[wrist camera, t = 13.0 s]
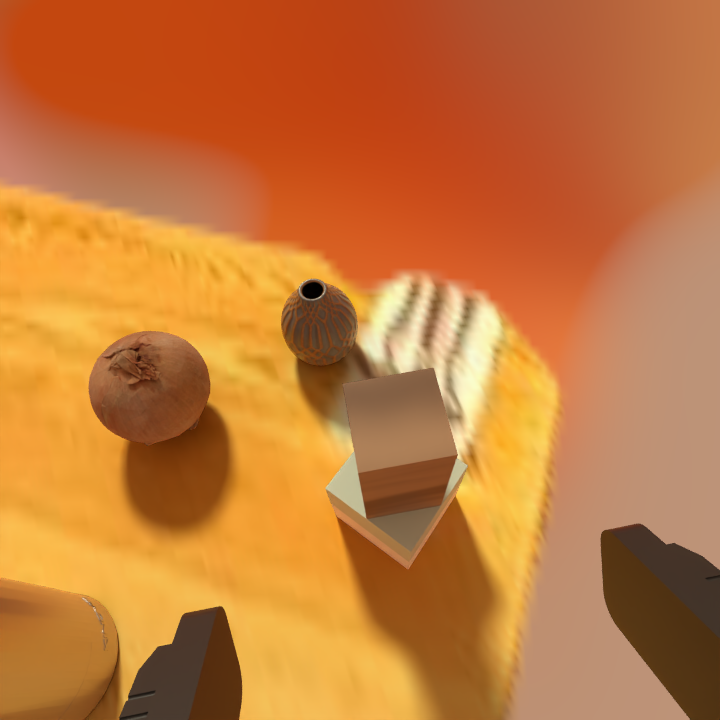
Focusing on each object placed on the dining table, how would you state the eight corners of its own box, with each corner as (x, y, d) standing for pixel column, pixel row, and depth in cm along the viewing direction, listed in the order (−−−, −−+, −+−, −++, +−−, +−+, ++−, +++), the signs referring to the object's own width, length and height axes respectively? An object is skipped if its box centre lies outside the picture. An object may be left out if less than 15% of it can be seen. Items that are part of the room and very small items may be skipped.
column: (440, 505, 34) (457, 454, 25) (366, 519, 34) (357, 473, 25) (423, 435, 36) (433, 367, 28) (354, 448, 36) (342, 383, 28)
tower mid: (408, 562, 36) (411, 552, 33) (331, 503, 38) (325, 488, 35) (460, 482, 39) (467, 465, 35) (385, 432, 41) (384, 411, 38)
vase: (357, 377, 48) (351, 324, 40) (284, 375, 49) (265, 323, 41) (361, 316, 52) (356, 257, 44) (293, 315, 52) (276, 257, 44)
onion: (243, 387, 48) (210, 327, 40) (186, 476, 44) (136, 432, 35) (161, 353, 51) (113, 290, 42) (99, 435, 46) (33, 384, 38)
